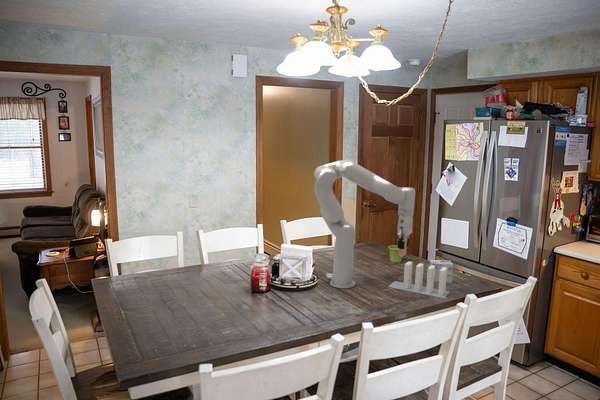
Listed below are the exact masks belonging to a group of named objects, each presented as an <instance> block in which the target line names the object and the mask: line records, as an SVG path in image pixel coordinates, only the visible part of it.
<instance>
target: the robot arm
mask: <svg viewBox="0 0 600 400" xmlns="http://www.w3.org/2000/svg"><path fill="white" fill-rule="evenodd" d="M313 175H314V179H315V180H316V181H315V183H314V195H315V198H316V201H317V202H318V204H319V206H320V214H321V216H322V219H323V221H324V222H325V224H326V225H327V228H328V229H329V231H330V232H331V234H332V235H333V236H334V237H335V241H334V244H333V245H334V247H333V270H332V271H333V273H330V272H326V275H325V276H326V279H330V281H329V285H330V286H332V287H334V288H337V289H351V288H353V287H355V286H356V282H355V280H353V273H354V272H353V271H354V247H355V240H356V229H355V227H354V226H353V224H351V223H350V222H349V221H347V220H346V218H345V217H344V209H343V207H342V206H341V204H340V202H339V200H338V199H337V197H336V195H335V193H334V190H333V185H334V183H335V181H336V180H337V179H340V178H345V179H346V180H349V181H350V182H352V183H354V184H356V185H358V186H359V187H360V188H363V189H364V190H366V191H369V192H371V193H374V194H376V195H379V196H380V197H383V198H384V199H385V200H386V201H388V202H390V203H393V204H395V205H398V208H397V209H398V210H397V211H398V212H397V215H398V223H397V236H398V240H397V246H398V248H399V249H404V245H405V241H404V239H405V236H408V238H407V248H408V247H409V241H410V235H412V233H413V219H414V218H413V216H414V214H415V212H414V211H415V199H416V189H415V188H414V187H408V186H405V187H403V186H402V187H398V186H397V185H394V184H393V183H391V182H390V181H387V180H386V179H384V178H382V177H381V176H379V175H378V174H376V173H373V172H372V171H370V170H369V169H366V168H364V167H363V166H362V165H360V164H358V163H356V162H355V161H353V160H349V159H348V160H347V159H341V160H337V161H333V162H330V163H326V164H322V165H319V166H317V167H316V169H315V170H314V173H313ZM402 234H404V235H402ZM402 236H403V237H402Z"/></svg>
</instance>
